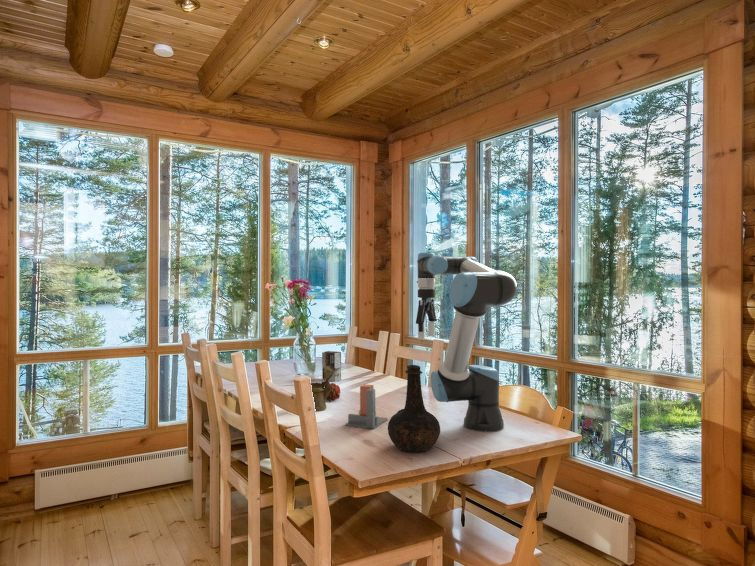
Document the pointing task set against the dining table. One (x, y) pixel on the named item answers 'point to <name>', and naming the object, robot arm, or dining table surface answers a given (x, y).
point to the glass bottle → (413, 418)
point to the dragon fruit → (333, 392)
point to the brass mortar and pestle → (321, 392)
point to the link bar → (364, 398)
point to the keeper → (366, 420)
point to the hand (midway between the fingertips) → (426, 337)
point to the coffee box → (331, 365)
